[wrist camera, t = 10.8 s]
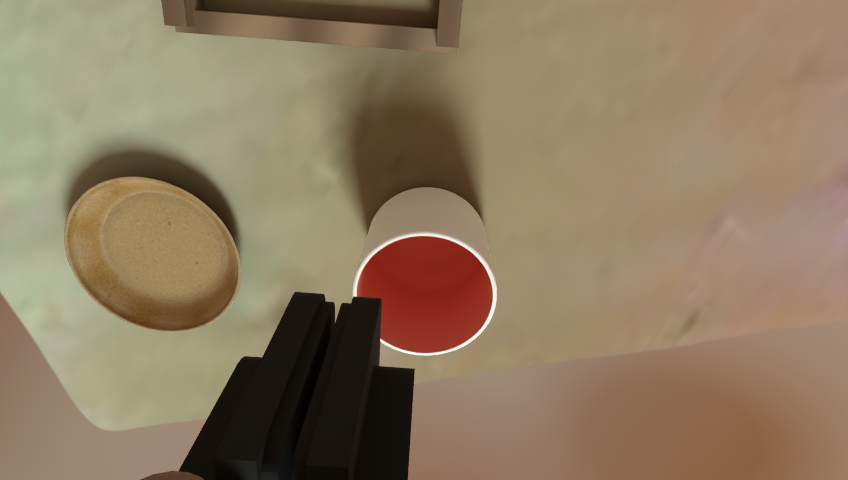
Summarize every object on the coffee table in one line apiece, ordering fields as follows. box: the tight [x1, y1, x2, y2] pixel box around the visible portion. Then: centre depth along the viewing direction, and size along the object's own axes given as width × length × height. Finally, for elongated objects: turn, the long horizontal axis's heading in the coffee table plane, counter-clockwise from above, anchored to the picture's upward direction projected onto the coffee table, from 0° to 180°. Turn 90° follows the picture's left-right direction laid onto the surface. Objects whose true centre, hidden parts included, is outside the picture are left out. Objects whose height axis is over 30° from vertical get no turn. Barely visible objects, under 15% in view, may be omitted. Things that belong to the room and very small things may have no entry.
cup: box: [353, 187, 497, 355], centre depth 40 cm, size 10×10×10 cm
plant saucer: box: [64, 176, 241, 333], centre depth 45 cm, size 15×15×3 cm
